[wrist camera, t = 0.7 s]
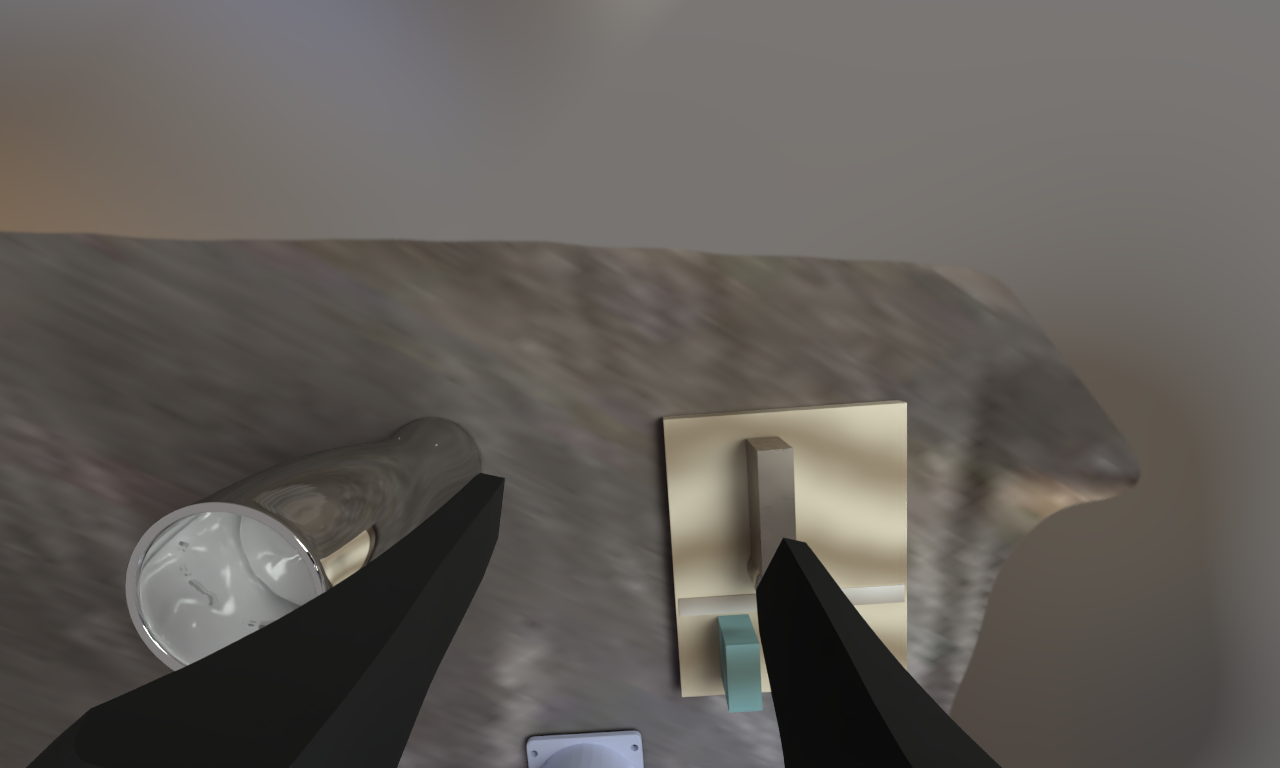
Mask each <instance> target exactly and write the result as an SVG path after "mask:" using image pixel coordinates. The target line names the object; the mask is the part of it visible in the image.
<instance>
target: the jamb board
mask: <svg viewBox="0 0 1280 768" xmlns="http://www.w3.org/2000/svg"><path fill="white" fill-rule="evenodd" d="M663 428H664V443H665V458H666V472H667V487H668V502H669V517H670V532H671V547H672V562H673V576H674V591H675V606H676V621H677V636H678V651H679V666H680V680H681V692H682V697H693V696H710V695H726V700H727V704H728V709H729V712H746V711H762V692H771V688H770V683H769V678H768V674H767V669H766V664H765V659H764V654H763V649H762V644H761V639H760V634H759V625H758V615H757V601H756V591H755V588H754V586H753V584H752V581H751V579H750V577H749V574H748V571H747V563H748V560H749V558H750V557H751V540H750V518H749V495H748V473H747V451H746V439H747V438H762V437H776V436H779V437H780V438H781V439H782V440H784V441H785V442H786V443H787V444H789V445H790V446H791V447H792V448H793V452H794V483H795V515H796V540H797V541H802V542H806V543H807V544H808V546H809V547H810V548H811V549H812V551H813V552H814V553H815V555H816V556H817V557H818V559H819V560H820V561H821V563H822V564H823V565H824V567H825V568H826V569H827V571H828V572H829V573H830V575H831V576H832V578H833V579H834V580H835V582H836V583H837V584H838V586H839V587H840V588H841V590H842V591H843V592H844V594H845V595H846V596H847V598H848V599H849V600H850V602H851V603H852V604H853V605H854V607H855V608H856V609H857V611H858V612H859V613H860V615H861V616H862V617H863V618H864V620H865V621H866V622H867V624H868V625H869V626H870V627H871V629H872V630H873V631H874V632H875V634H876V635H877V636H878V637H879V638H880V640H881V641H882V642H883V643H884V645H885V646H886V647H887V648H888V649H889V650H890V652H891V653H892V654H893V655H894V656H895V658H896V659H897V660H898V661H899V662H900V664H901V665H902V666H903V667H904V668H905V669H906V671H907V403H906V402H902V401H899V400H893V401H879V402H865V403H850V404H836V405H822V406H808V407H793V408H779V409H765V410H750V411H736V412H722V413H708V414H693V415H679V416H665V417H663Z"/></svg>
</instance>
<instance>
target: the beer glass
mask: <svg viewBox="0 0 1280 768" xmlns="http://www.w3.org/2000/svg"><path fill="white" fill-rule="evenodd" d="M480 471H481V459H480V454H479V451H478V448H477V446H476V444H475V442H474V440H473V439H472V438H471V436H470V435H469V434H468V433H467V432H466V431H465V430H464V429H463V428H461V427H460V426H459V425H457V424H455V423H453V422H451V421H448V420H445V419H441V418H422V419H418V420H415V421H413V422H411V423H409V424H407V425H405V426H404V427H402V428H401V429H399V430H398V431H397V432H396V433H395V434H393V435H392V436H391V437H390V438H389V439H388V440H385V441H380V442H374V443H366V444H358V445H351V446H345V447H338V448H333V449H329V450H324V451H319V452H315V453H311V454H307V455H304V456H301V457H298V458H295V459H292V460H289V461H286V462H283V463H280V464H278V465H275V466H273V467H270V468H268V469H265V470H263V471H261V472H258V473H256V474H253V475H251V476H249V477H247V478H244V479H242V480H240V481H238V482H236V483H234V484H232V485H230V486H227V487H225V488H223V489H221V490H219V491H217V492H215V493H213V494H211V495H209V496H207V497H205V498H203V499H201V500H199V501H197V502H195V503H193V504H191V505H188V506H185V507H182V508H179V509H177V510H175V511H172V512H171V513H169V514H167V515H165V516H164V517H162V518H161V519H159V520H158V521H157V522H155V523H154V524H153V525H152V526H151V527H150V528H149V529H148V530H147V531H146V532H145V533H144V534H143V536H142V537H141V538H140V540H139V541H138V543H137V544H136V546H135V548H134V550H133V552H132V554H131V557H130V560H129V563H128V566H127V571H126V578H125V594H126V601H127V606H128V610H129V614H130V617H131V619H132V622H133V624H134V626H135V628H136V630H137V632H138V634H139V635H140V637H141V639H142V640H143V642H144V643H145V644H146V646H147V647H148V648H149V649H150V650H151V652H152V653H153V654H154V655H155V656H156V657H157V658H158V659H159V660H160V661H161V662H163V663H164V664H165V665H166V666H168V667H169V668H170V669H172V670H173V671H177V670H179V669H181V668H183V667H185V666H187V665H190V664H192V663H194V662H196V661H198V660H200V659H202V658H204V657H206V656H208V655H210V654H212V653H214V652H216V651H218V650H220V649H222V648H224V647H226V646H228V645H230V644H231V643H233V642H235V641H237V640H239V639H241V638H243V637H245V636H247V635H249V634H251V633H253V632H255V631H257V630H259V629H261V628H263V627H265V626H266V625H268V624H270V623H272V622H274V621H276V620H277V619H279V618H281V617H283V616H285V615H286V614H288V613H290V612H292V611H293V610H295V609H297V608H298V607H300V606H302V605H303V604H305V603H307V602H309V601H310V600H312V599H314V598H315V597H317V596H319V595H320V594H322V593H324V592H325V591H327V590H329V589H330V588H332V587H333V586H335V585H337V584H338V583H340V582H341V581H343V580H344V579H346V578H347V577H349V576H350V575H352V574H354V573H355V572H356V571H358V570H359V569H361V568H362V567H364V566H365V565H367V564H368V563H370V562H371V561H373V560H374V559H375V558H377V557H378V556H380V555H381V554H382V553H384V552H385V551H386V550H388V549H389V548H390V547H392V546H393V545H394V544H396V543H397V542H398V541H400V540H401V539H402V538H404V537H405V536H406V535H408V534H409V533H410V532H412V531H413V530H414V529H415V528H417V527H418V526H419V525H420V524H421V523H423V522H424V521H425V520H426V519H428V518H429V517H430V516H431V515H432V514H434V513H435V512H436V511H437V510H438V509H440V508H441V507H442V506H443V505H444V504H445V503H446V502H448V501H449V500H450V499H451V498H452V497H453V496H454V495H456V494H457V493H458V492H459V491H460V490H461V489H462V488H463V487H464V486H465V485H466V484H467V483H469V482H470V481H471V480H472V479H473V478H474V477H475V476H476V475H478V474H480Z"/></svg>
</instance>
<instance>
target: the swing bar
mask: <svg viewBox="0 0 1280 768" xmlns="http://www.w3.org/2000/svg"><path fill="white" fill-rule="evenodd" d="M746 451H747V473H748V495H749V518H750V540H751V557H750V558H749V560H748V563H747V571H748V574H749V577H750V579H751V581H752V584H753V586H754V588H755V591H756V589H757V587H758V585H759V583H760V581H761V579H762V577H763V575H764V573H765V571H766V569H767V568H768V566H769V564H770V562H771V560H772V558H773V556H774V554H775V552H776V550H777V548H778V546H779V544H780V542H781V541H782V539H783V538H788V539H792V540H796V515H795V483H794V452H793V448H792V447H791V446H790V445H789V444H787V443H786V442H785V441H784V440H782V439H781V438H780V437H779V436H776V437H762V438H747V439H746Z"/></svg>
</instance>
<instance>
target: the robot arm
mask: <svg viewBox="0 0 1280 768" xmlns="http://www.w3.org/2000/svg"><path fill="white" fill-rule="evenodd" d="M504 482H505V478H502V477H497V476H492V475H488V474H483V473H480V474H478V475H476V476H475V477H474V478H473V479H472V480H471V481H470V482H469V483H467V484H466V485H465V486H464V487H463V488H462V489H461V490H460V491H459V492H458V493H457V494H456V495H454V496H453V497H452V498H451V499H450V500H449V501H448V502H446V503H445V504H444V505H443V506H442V507H441V508H440V509H438V510H437V511H436V512H435V513H434V514H432V515H431V516H430V517H429V518H428V519H426V520H425V521H424V522H423V523H421V524H420V525H419V526H418V527H417V528H415V529H414V530H413V531H412V532H410V533H409V534H408V535H406V536H405V537H404V538H402V539H401V540H400V541H398V542H397V543H396V544H394V545H393V546H392V547H390V548H389V549H388V550H386V551H385V552H384V553H382V554H381V555H380V556H378V557H377V558H375V559H374V560H373V561H371V562H370V563H368V564H367V565H365V566H364V567H362V568H361V569H359V570H358V571H356V572H355V573H354V574H352V575H350V576H349V577H347V578H346V579H344V580H343V581H341V582H340V583H338V584H337V585H335V586H333V587H332V588H330V589H329V590H327V591H325V592H324V593H322V594H320V595H319V596H317V597H315V598H314V599H312V600H310V601H309V602H307V603H305V604H303V605H302V606H300V607H298V608H297V609H295V610H293V611H292V612H290V613H288V614H286V615H285V616H283V617H281V618H279V619H277V620H276V621H274V622H272V623H270V624H268V625H266V626H265V627H263V628H261V629H259V630H257V631H255V632H253V633H251V634H249V635H247V636H245V637H243V638H241V639H239V640H237V641H235V642H233V643H231V644H230V645H228V646H226V647H224V648H222V649H220V650H218V651H216V652H214V653H212V654H210V655H208V656H206V657H204V658H202V659H200V660H198V661H196V662H194V663H192V664H190V665H187V666H185V667H183V668H181V669H179V670H177V671H174V672H172V673H170V674H168V675H165V676H163V677H161V678H159V679H157V680H154V681H152V682H150V683H148V684H145V685H143V686H141V687H139V688H137V689H134V690H132V691H130V692H128V693H126V694H123V695H121V696H119V697H117V698H114V699H112V700H110V701H107V702H105V703H103V704H100V705H98V706H96V707H93V708H91V709H90V710H89V711H87V712H86V713H85V714H84V715H83V716H82V717H81V718H80V719H78V720H77V721H76V722H75V723H74V724H73V725H71V726H70V727H69V728H68V729H67V730H66V731H64V732H63V733H62V734H61V735H60V736H59V737H57V738H56V739H55V740H54V741H53V742H52V743H51V744H50V745H49V746H48V747H47V748H46V749H45V750H44V751H43V752H42V753H41V754H40V755H39V756H38V757H37V758H36V759H35V760H34V761H33V762H31V763H30V764H29V765H28V766H27V767H26V768H397V766H398V764H399V761H400V759H401V756H402V753H403V751H404V748H405V746H406V743H407V741H408V738H409V736H410V733H411V731H412V728H413V726H414V723H415V721H416V718H417V716H418V713H419V711H420V708H421V706H422V703H423V701H424V698H425V696H426V693H427V691H428V688H429V686H430V684H431V682H432V680H433V677H434V675H435V673H436V671H437V669H438V666H439V664H440V662H441V660H442V658H443V656H444V654H445V652H446V650H447V648H448V646H449V645H450V643H451V641H452V639H453V637H454V635H455V633H456V631H457V629H458V627H459V625H460V623H461V621H462V619H463V617H464V615H465V613H466V611H467V609H468V607H469V605H470V603H471V601H472V599H473V597H474V595H475V593H476V591H477V589H478V587H479V584H480V582H481V580H482V578H483V576H484V574H485V571H486V568H487V566H488V563H489V561H490V558H491V555H492V552H493V550H494V547H495V544H496V542H497V539H498V534H499V525H500V516H501V508H502V499H503V491H504ZM756 601H757V615H758V625H759V634H760V639H761V644H762V649H763V654H764V659H765V664H766V669H767V674H768V678H769V683H770V688H771V693H772V698H773V702H774V707H775V712H776V717H777V722H778V726H779V731H780V737H781V743H782V749H783V755H784V764H785V768H1002V767H1000V766H999V765H998V764H997V763H996V762H995V761H994V760H993V759H992V758H991V757H990V756H989V755H988V754H987V753H986V752H985V751H984V750H983V749H982V748H980V747H979V746H978V744H976V743H975V742H974V741H973V740H972V739H971V738H970V737H969V736H968V735H967V734H966V733H965V732H964V731H963V730H962V729H961V728H960V727H959V726H958V725H957V724H956V723H955V722H954V721H953V720H952V719H951V718H950V717H949V716H948V715H947V714H946V713H945V712H944V711H943V710H942V708H941V707H940V706H939V705H938V704H937V703H936V702H935V701H934V700H933V699H932V698H931V697H930V696H929V695H928V694H927V692H926V691H925V690H924V689H923V688H922V687H921V686H920V685H919V684H918V683H917V682H916V681H915V679H914V678H913V677H912V676H911V675H910V674H909V673H908V672H907V671H906V669H905V668H904V667H903V666H902V665H901V664H900V662H899V661H898V660H897V659H896V658H895V656H894V655H893V654H892V653H891V652H890V650H889V649H888V648H887V647H886V646H885V645H884V643H883V642H882V641H881V640H880V638H879V637H878V636H877V635H876V634H875V632H874V631H873V630H872V629H871V627H870V626H869V625H868V624H867V622H866V621H865V620H864V618H863V617H862V616H861V615H860V613H859V612H858V611H857V609H856V608H855V607H854V605H853V604H852V603H851V602H850V600H849V599H848V598H847V596H846V595H845V594H844V592H843V591H842V590H841V588H840V587H839V586H838V584H837V583H836V582H835V580H834V579H833V578H832V576H831V575H830V573H829V572H828V571H827V569H826V568H825V567H824V565H823V564H822V563H821V561H820V560H819V559H818V557H817V556H816V555H815V553H814V552H813V551H812V549H811V548H810V547H809V546H808V544H807V543H806V542H802V541H797V540H792V539H788V538H783V539H782V541H781V542H780V544H779V546H778V548H777V550H776V552H775V554H774V556H773V558H772V560H771V562H770V564H769V566H768V568H767V569H766V571H765V573H764V575H763V577H762V579H761V581H760V583H759V585H758V587H757V589H756ZM634 744H635V745H637V746H633V745H634ZM526 749H527V757H528V766H529V768H644V764H643V752H642V739H641V734H640V733H639V732H638V731H617V732H601V733H584V734H568V735H551V736H534V737H531V738H529V740H528V741H527V746H526ZM534 751H537V752H534Z"/></svg>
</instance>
